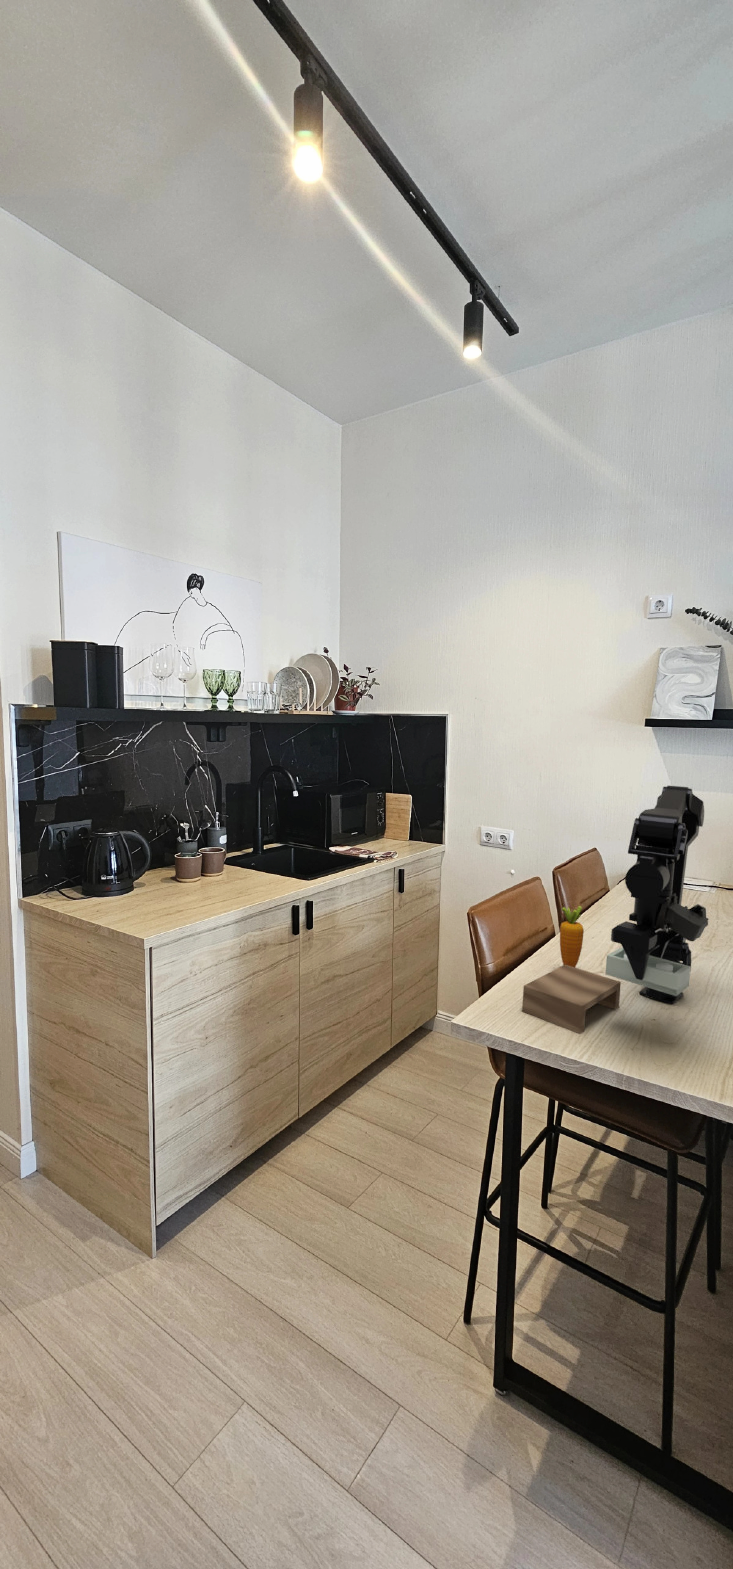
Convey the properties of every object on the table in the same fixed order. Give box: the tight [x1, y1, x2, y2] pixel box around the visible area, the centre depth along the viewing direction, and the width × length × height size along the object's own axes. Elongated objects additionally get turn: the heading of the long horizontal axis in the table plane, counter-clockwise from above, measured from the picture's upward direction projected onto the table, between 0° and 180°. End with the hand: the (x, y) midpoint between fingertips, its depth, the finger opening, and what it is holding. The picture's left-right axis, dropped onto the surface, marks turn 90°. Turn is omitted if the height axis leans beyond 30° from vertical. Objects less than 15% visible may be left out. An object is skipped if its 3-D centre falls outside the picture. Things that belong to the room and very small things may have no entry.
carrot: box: [559, 905, 585, 968], centre depth 141 cm, size 5×5×15 cm
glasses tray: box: [604, 947, 692, 996], centre depth 114 cm, size 6×12×4 cm, turn 46°
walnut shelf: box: [521, 964, 622, 1034], centre depth 125 cm, size 16×12×5 cm
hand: (646, 974), depth 114 cm, fingers closed on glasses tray, 6 cm apart
